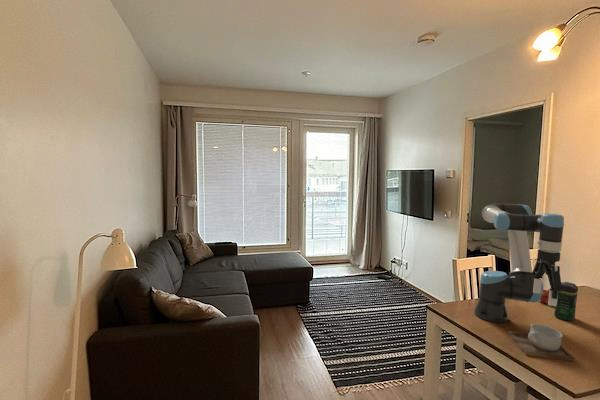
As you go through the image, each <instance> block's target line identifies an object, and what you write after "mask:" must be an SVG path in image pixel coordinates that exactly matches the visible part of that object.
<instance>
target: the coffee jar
mask: <svg viewBox="0 0 600 400" xmlns="http://www.w3.org/2000/svg"><path fill="white" fill-rule="evenodd" d="M561 285H562V291H558V298H557V306H554V313H553V314H554V317H556V318H557V319H559V320H562V321H568V322H572V321H573V320H575V318H576V308H577V299H578V293H579V290H578V289H579V286H578V285H577V284H575V283H572V282H569V281H562V282H561Z"/></svg>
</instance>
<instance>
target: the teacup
mask: <svg viewBox="0 0 600 400" xmlns="http://www.w3.org/2000/svg"><path fill="white" fill-rule="evenodd" d="M563 336H564V335H563V334H562V332H561V331H559V330H558V329H556V328H553V326H552V327H551V326H549V325H545V324H541V323H532V324H530V331H529V334H528V339H529V340H530V341H531V342H532V343H533V344H534V345H535V346H536V347H537V348H539V349H541V350H544V351H549V352H551V351H556V350H558V349H559V348H560V345H561V343H562V338H563Z"/></svg>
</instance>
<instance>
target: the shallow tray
mask: <svg viewBox="0 0 600 400" xmlns="http://www.w3.org/2000/svg"><path fill="white" fill-rule="evenodd" d="M529 333H530V332H529ZM529 333H527V332H520V331H513V330H512V331H511V330H509V331H508V336H509V337H510V338H511V340H513V342H514V343H515V344H516V346H518V348H519V349H520V350H521V351H522V353H523V355H525V356H531V357H538V358H546V359H552V360H561V361H565V362H566V361H567V362H573V363H574V362H575V356H573V354H572V353H570V352H569V351H568V350H567V349H566V348H565V347H564V346H563V345H560V348H559V349H558V350H556V351H551V352H549V351H544V350H541V349H539V348H537V347H536V346H535V345H534V344H533V343H532V342H531V341H530V340H529V339H528V334H529Z"/></svg>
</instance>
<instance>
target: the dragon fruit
mask: <svg viewBox="0 0 600 400" xmlns="http://www.w3.org/2000/svg"><path fill="white" fill-rule="evenodd" d="M548 299H549V289H547V290H546V289H545V288H543V293H542V297H541V299H540V300H539V301H540V302H541V303H542V304H544V303H545V304H547V305H548Z"/></svg>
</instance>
